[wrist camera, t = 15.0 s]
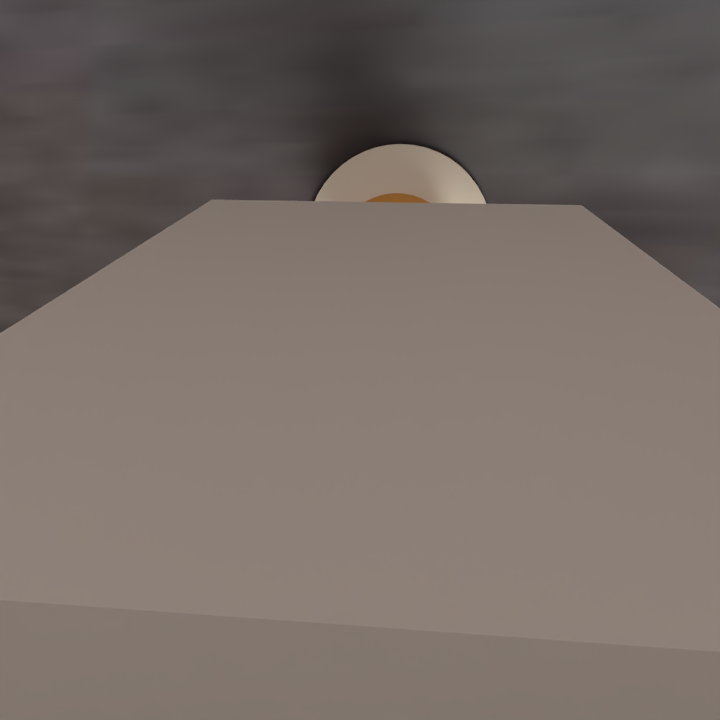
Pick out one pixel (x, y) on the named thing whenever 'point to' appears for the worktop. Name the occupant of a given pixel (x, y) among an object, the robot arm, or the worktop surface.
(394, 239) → the cream cube
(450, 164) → the cream domed disc
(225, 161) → the worktop surface
